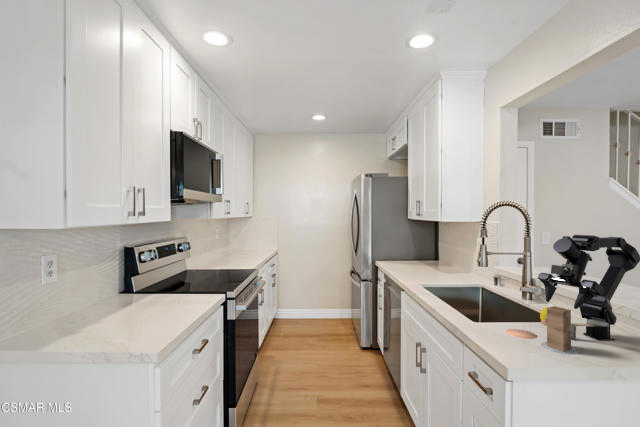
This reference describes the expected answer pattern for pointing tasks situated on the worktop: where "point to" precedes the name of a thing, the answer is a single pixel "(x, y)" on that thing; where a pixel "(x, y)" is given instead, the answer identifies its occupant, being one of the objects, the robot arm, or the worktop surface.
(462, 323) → the worktop surface
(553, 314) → the walnut block
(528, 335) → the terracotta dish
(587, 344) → the worktop surface
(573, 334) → the balance
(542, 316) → the lemon
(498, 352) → the worktop surface
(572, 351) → the slate dish
